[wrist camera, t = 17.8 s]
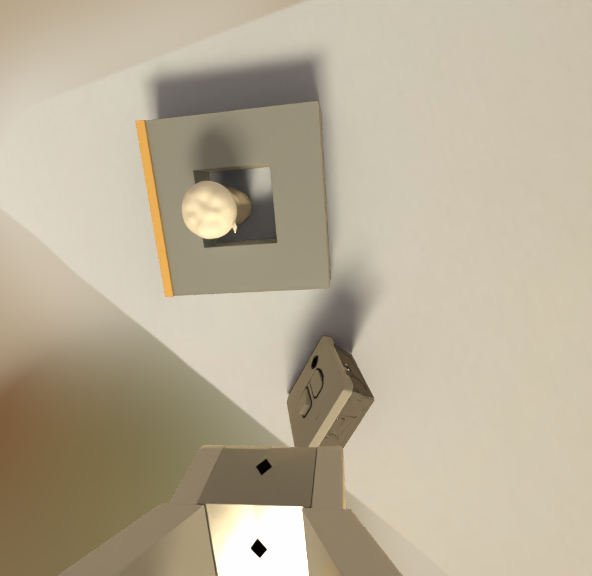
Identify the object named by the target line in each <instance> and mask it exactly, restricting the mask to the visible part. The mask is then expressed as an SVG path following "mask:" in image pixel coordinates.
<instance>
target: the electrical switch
mask: <svg viewBox="0 0 592 576" xmlns="http://www.w3.org/2000/svg"><path fill="white" fill-rule="evenodd" d="M333 344H334V342H333V339H332V338H330V337H327V336H323V337H322V338H321V339H320V341H319V343H318V345H317V346H316V348H315V350H314V352H313V354H312V355H311V357H310V359H309V361H308V362H307V364H306V366H305V368H304V370H303V371H302V373H301V375H300V377H299V378H298V380H297V382H296V384H295V385H294V387H293V389H292V391H291V393H290V394H289V396H288V400H287V406H288V412H289V418H290V423H291V429H292V435H293V440H294V446H295V447H318V446H342V448H344V446H345V445H346V443H347V442H348V440H349V438H350V437H351V435H352V434H353V432H354V431H355V429H356V428H357V426H358V425H359V423H360V422H361V420H362V418H363V417H364V415H365V414H366V412H367V411H368V409H369V408H370V406H371V405H372V403H373V401H374V399H372V398H374V397H373V395H372V393H371V391H370V389H369V387H368V385H367V384H366V382H365V380H364V378H363V376H362V374H361V372H360V370H359V368H358V366H357V364H356V362H355V360H354V358H353V356H352V354H349V353H347V352H344V351H342V350H341V349H339V348H336V347H334V345H333ZM345 364H347V365H345ZM348 369H349V370H350V371H348ZM366 396H367V397H366ZM369 397H370V398H369ZM337 418H338V420H337ZM345 419H347V420H345ZM334 433H335V434H334ZM336 434H337V435H336ZM327 436H329V437H327Z"/></svg>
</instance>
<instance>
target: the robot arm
mask: <svg viewBox="0 0 592 576" xmlns="http://www.w3.org/2000/svg"><path fill="white" fill-rule="evenodd" d="M57 576H402V575H401V573H400V572H399V570H398V569H397V568H396V567H395V565H394V564H393V563H392V562H391V560H390V559H389V558H388V556H387V555H386V554H385V552H384V551H383V550H382V549H381V547H380V546H379V545H378V544H377V542H376V541H375V540H374V538H373V537H372V536H371V535H370V533H369V532H368V531H367V529H366V528H365V527H364V526H363V524H362V523H361V522H360V521H359V519H358V518H357V517H356V515H355V514H354V513H353V511H352V510H350V509H346V494H345V474H344V456H343V448H342V446H318V447H268V446H266V447H265V446H237V445H236V446H235V445H227V446H225V445H204V446H202V447H200V449H199V450H198V452H197V453H196V455H195V457H194V459H193V461H192V462H191V464H190V466H189V468H188V469H187V471H186V473H185V475H184V477H183V479H182V480H181V482H180V484H179V485H178V487H177V489H176V491H175V493H174V495H173V496H172V498H171V500H170V502H169V503H168V504H160V505H158V506H157V507H156V508H154V509H153V510H151V511H150V512H148V513H147V514H145V515H144V516H142V517H141V518H140V519H138V520H137V521H135V522H134V523H132V524H131V525H129V526H128V527H127V528H125V529H124V530H122V531H121V532H119V533H118V534H117V535H115V536H114V537H112V538H111V539H109V540H108V541H106V542H105V543H104V544H102V545H101V546H99V547H98V548H96V549H95V550H94V551H92V552H91V553H89V554H88V555H86V556H85V557H83V558H82V559H81V560H79V561H78V562H76V563H75V564H73V565H72V566H70V567H69V568H68V569H66V570H65V571H63V572H62V573H60V574H59V575H57Z"/></svg>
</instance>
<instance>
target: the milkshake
mask: <svg viewBox="0 0 592 576" xmlns="http://www.w3.org/2000/svg"><path fill="white" fill-rule="evenodd" d="M251 205H252V204H251V202H250V200H249V198H248V196H247V194H245V193H243V192H241V191H239V190H237V189H233V188H230V187H226V186H224V185H221V184H219V183H217V182H213V181H201V182H199V183H197V184H195V185H193V186H192V187H190V188H189V189H188V190H187V192H186V194H185V196H184V198H183V202H182V215H183V219H184V222H185V224H186V226H187V227H188V228H189V229H190V230H191V231H192V232H193V233H195V234H196V235H198V236H200V237H202V238H205V239H213V238H218V237H221V236H224V235H225V234H227V233H228V232H229V231H230V230H231V229H233V230H234V233H235V232H236V230H237V225H239V224H240V223H242V222H243V221H244V220H245V219H246V218H247V217H248V216H249V215H250V213H251Z"/></svg>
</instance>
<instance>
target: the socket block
mask: <svg viewBox="0 0 592 576" xmlns="http://www.w3.org/2000/svg"><path fill="white" fill-rule="evenodd" d="M135 122H136V128H137V134H138V140H139V145H140V151H141V157H142V163H143V169H144V175H145V181H146V186H147V192H148V198H149V204H150V210H151V216H152V222H153V227H154V233H155V239H156V245H157V251H158V257H159V263H160V269H161V274H162V280H163V286H164V292H165V297H173V296H179V295H200V294H221V293H242V292H263V291H284V290H305V289H326V288H329V287H330V280H331V276H330V259H329V242H328V225H327V208H326V191H325V174H324V157H323V140H322V123H321V110H320V106H319V102H318V101H311V102H302V103H294V104H285V105H276V106H268V107H259V108H251V109H242V110H233V111H225V112H216V113H207V114H199V115H190V116H182V117H173V118H164V119H156V120H147V121H145V120H140V121H135ZM260 167H270V170H271V181H272V192H273V203H274V214H275V225H276V235H277V238H274V239H259V240H244V241H229V242H218V241H217V238H213V239H205V238H202V237H200V236H198V235H196V234H195V233H193V232H192V231H191V230H190V229H189V228H188V227H187V226H186V224H185V222H184V219H183V215H182V202H183V198H184V196H185V194H186V192H187V190H188V189H189V188H190V187H192V186H193V185H195V184H197V183H199V182H201V181H210V180H209V172H218V171H228V170H239V169H250V168H260Z"/></svg>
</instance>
